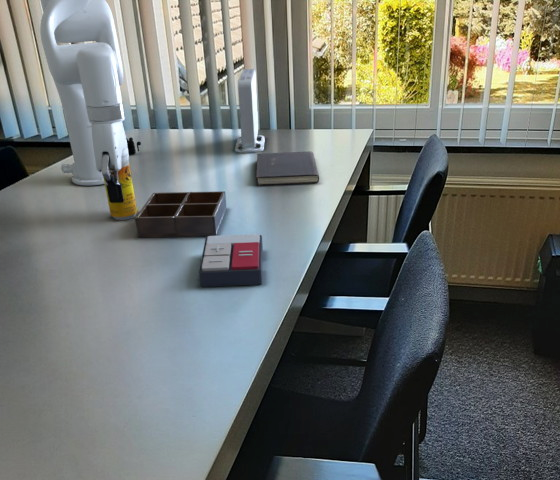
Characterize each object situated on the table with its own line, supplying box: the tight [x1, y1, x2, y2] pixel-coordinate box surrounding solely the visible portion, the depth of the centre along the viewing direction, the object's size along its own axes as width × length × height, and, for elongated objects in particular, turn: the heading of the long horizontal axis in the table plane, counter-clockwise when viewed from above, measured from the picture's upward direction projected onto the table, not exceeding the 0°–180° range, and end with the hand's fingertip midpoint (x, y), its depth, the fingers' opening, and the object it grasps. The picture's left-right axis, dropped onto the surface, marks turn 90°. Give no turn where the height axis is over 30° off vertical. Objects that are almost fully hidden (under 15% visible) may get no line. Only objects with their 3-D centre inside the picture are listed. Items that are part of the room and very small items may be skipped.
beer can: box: [103, 148, 138, 221], centre depth 139 cm, size 6×6×15 cm
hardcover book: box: [255, 150, 320, 187], centre depth 167 cm, size 16×23×2 cm
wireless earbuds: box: [126, 136, 142, 156], centre depth 188 cm, size 7×2×5 cm, turn 99°
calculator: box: [198, 233, 264, 288], centre depth 115 cm, size 11×4×15 cm
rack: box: [134, 190, 228, 238], centre depth 137 cm, size 17×17×4 cm
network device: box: [234, 68, 266, 154], centre depth 189 cm, size 26×9×20 cm, turn 179°
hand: (121, 196), depth 141 cm, fingers closed on beer can, 6 cm apart
